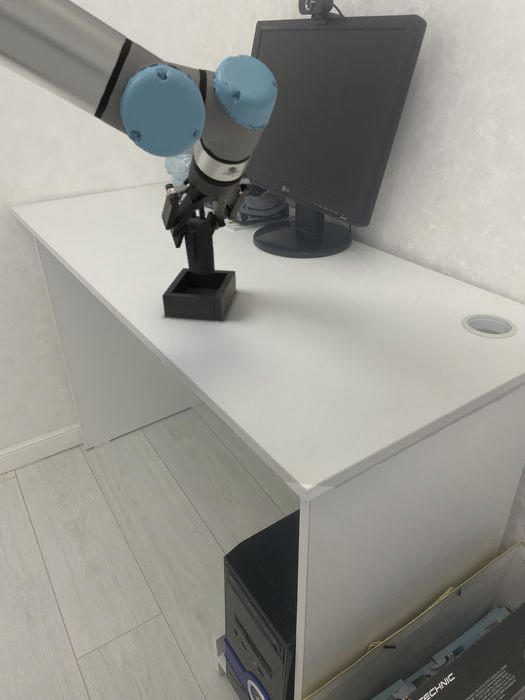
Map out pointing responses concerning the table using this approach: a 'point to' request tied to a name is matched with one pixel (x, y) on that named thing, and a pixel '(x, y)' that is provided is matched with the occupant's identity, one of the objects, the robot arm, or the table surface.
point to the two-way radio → (199, 244)
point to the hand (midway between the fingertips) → (190, 238)
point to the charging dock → (200, 295)
